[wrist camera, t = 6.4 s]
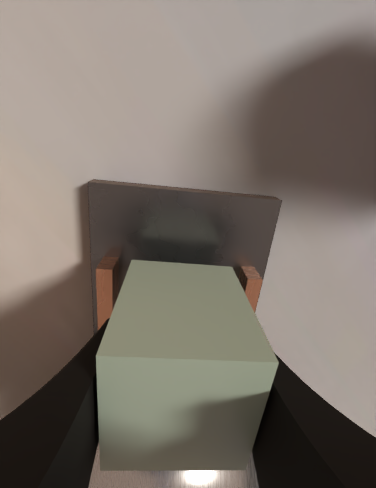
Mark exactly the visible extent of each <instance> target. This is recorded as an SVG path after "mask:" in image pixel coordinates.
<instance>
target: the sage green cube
mask: <svg viewBox="0 0 376 488" xmlns="http://www.w3.org/2000/svg"><path fill="white" fill-rule="evenodd" d="M278 364H279V362H278V360H277V358H276V356H275V354H274V352H273V350H272V348H271V346H270V343H269V341H268V339H267V337H266V335H265V333H264V331H263V329H262V327H261V325H260V323H259V321H258V319H257V317H256V315H255V313H254V311H253V309H252V307H251V305H250V302H249V300H248V298H247V296H246V294H245V292H244V290H243V288H242V286H241V284H240V282H239V280H238V278H237V276H236V274H235V272H234V270H233V268H232V267H229V266H215V265H200V264H186V263H172V262H158V261H144V260H131V263H130V266H129V268H128V271H127V274H126V276H125V279H124V282H123V285H122V287H121V290H120V293H119V295H118V298H117V301H116V303H115V306H114V309H113V311H112V314H111V317H110V319H109V322H108V325H107V327H106V330H105V333H104V335H103V338H102V341H101V344H100V346H99V349H98V352H97V354H96V372H97V398H98V425H99V451H100V471H199V470H246V468H247V465H248V461H249V458H250V455H251V452H252V448H253V445H254V442H255V439H256V435H257V432H258V429H259V426H260V422H261V419H262V416H263V413H264V409H265V406H266V403H267V399H268V396H269V393H270V390H271V386H272V383H273V380H274V377H275V373H276V370H277V367H278Z"/></svg>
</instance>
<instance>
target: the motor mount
mask: <svg viewBox="0 0 376 488" xmlns="http://www.w3.org/2000/svg"><path fill="white" fill-rule="evenodd" d="M88 198H89V223H90V248H91V272H92V297H93V322H94V335H95V334H96V332H97V331H98V330H99V329H100V328H101V326H102V325H103V324H104V322H105V321H106V320H107V319H108V318H110V317H111V314H112V311H113V309H114V306H115V303H116V301H117V298H118V295H119V293H120V290H121V287H122V285H123V282H124V279H125V276H126V274H127V271H128V268H129V266H130V263H131V260H144V261H158V262H172V263H186V264H200V265H215V266H229V267H232V268H233V270H234V272H235V274H236V276H237V278H238V280H239V282H240V284H241V286H242V288H243V290H244V292H245V294H246V296H247V298H248V300H249V302H250V305H251V307H252V309H253V311H254V313H255V310H256V306H257V302H258V298H259V294H260V290H261V286H262V281H263V277H264V273H265V269H266V265H267V261H268V257H269V252H270V248H271V244H272V240H273V236H274V232H275V228H276V223H277V219H278V215H279V211H280V207H281V203H282V200H280V199H278V198H276V197H271V196H260V195H250V194H240V193H230V192H219V191H209V190H199V189H188V188H178V187H168V186H157V185H147V184H137V183H127V182H116V181H106V180H96V179H93V180H91V181H89V182H88ZM88 488H259V486H258V480H257V475H256V470H255V465H254V460H253V455H252V452H251V455H250V458H249V461H248V465H247V468H246V470H199V471H100V451H99V443H98V447H97V451H96V455H95V460H94V464H93V469H92V473H91V478H90V482H89V487H88Z"/></svg>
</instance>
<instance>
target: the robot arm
mask: <svg viewBox="0 0 376 488" xmlns="http://www.w3.org/2000/svg"><path fill="white" fill-rule="evenodd" d="M109 319H110V318H108V319H107V320H106V321H105V322H104V324H103V325H102V326H101V328H100V329H99V330H98V331H97V332H96V334H95V335H94V336H93V337H92V338H91V339H90V341H89V342H88V343H87V344H86V345H85V346H84V347H83V348H82V349H81V351H80V352H79V353H78V354H77V355H76V356H75V357H74V358H73V359H72V360H71V361H70V362H69V363H68V364H67V365H66V366H65V367H64V368H63V369H62V370H61V371H60V372H59V373H58V374H57V375H55V376H54V377H53V378H52V379H51V380H50V381H49V382H48V383H47V384H45V385H44V386H43V387H42V388H41V389H40V390H38V391H37V392H36V393H35V394H34V395H32V396H31V397H30V398H29V399H27V400H26V401H25V402H24V403H22V404H21V405H20V406H19V407H17V408H16V409H15V410H13V411H12V412H11V413H10V414H8V415H7V416H5V417H4V418H3V419H1V420H0V488H88V487H89V482H90V478H91V473H92V469H93V464H94V460H95V455H96V451H97V447H98V443H99V425H98V398H97V372H96V354H97V352H98V349H99V346H100V344H101V341H102V338H103V335H104V333H105V330H106V327H107V325H108V322H109ZM274 354H275V353H274ZM275 356H276V358H277V360H278V362H279V364H278V367H277V370H276V373H275V377H274V380H273V383H272V386H271V390H270V393H269V396H268V399H267V403H266V406H265V409H264V413H263V416H262V419H261V422H260V426H259V429H258V432H257V435H256V439H255V442H254V445H253V448H252V455H253V460H254V465H255V470H256V475H257V480H258V486H259V488H376V438H375V437H374V436H372V435H371V434H369V433H368V432H367V431H365V430H364V429H362V428H361V427H359V426H358V425H357V424H355V423H354V422H352V421H351V420H350V419H348V418H347V417H346V416H344V415H343V414H342V413H340V412H339V411H338V410H336V409H335V408H334V407H333V406H331V405H330V404H329V403H328V402H326V401H325V400H324V399H323V398H322V397H320V396H319V395H318V394H317V393H316V392H315V391H313V390H312V389H311V388H310V387H309V386H308V385H307V384H305V383H304V382H303V381H302V380H301V379H300V378H299V377H298V376H297V375H296V374H295V373H294V372H293V371H292V370H291V369H290V368H289V367H288V366H287V365H286V364H285V363H284V362H283V361H282V360H281V359H280V358H279V357H278V356H277V355H276V354H275Z"/></svg>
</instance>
